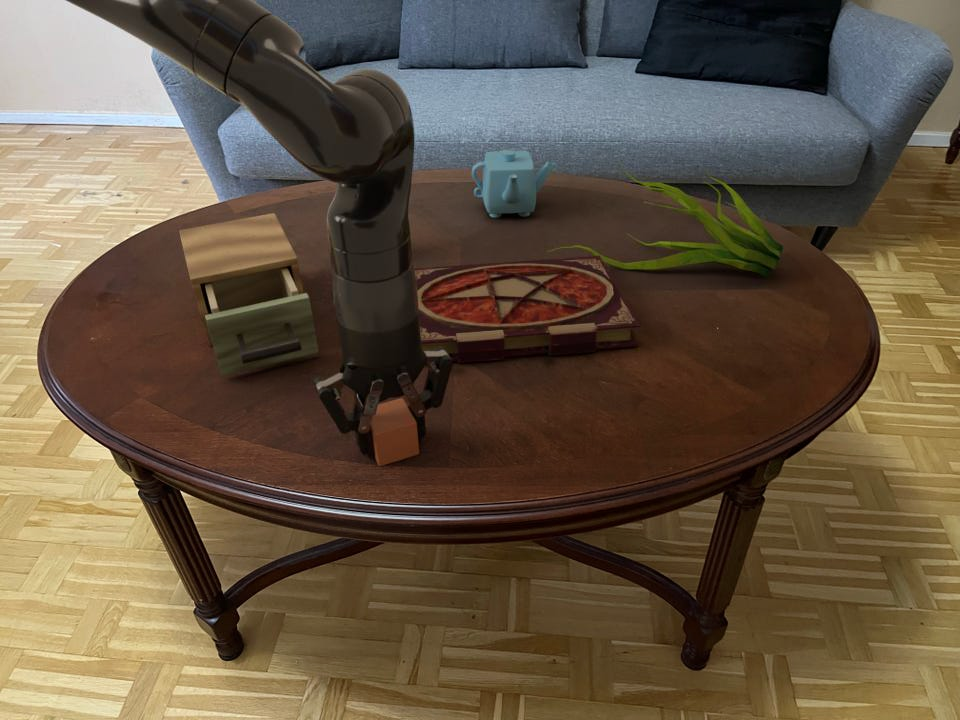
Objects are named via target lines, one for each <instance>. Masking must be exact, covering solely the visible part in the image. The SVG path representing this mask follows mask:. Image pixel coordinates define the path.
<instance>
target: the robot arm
mask: <svg viewBox="0 0 960 720" xmlns="http://www.w3.org/2000/svg"><path fill="white" fill-rule="evenodd" d="M65 1H66V2H68V3H69V4H72V5H74V6H76V7H77V8H80V9H82V10H84V11H86V12H88V13H90V14H91V15H94V16H95V17H98V18H100V19H102V20H104V21H106V22H107V23H109V24H110V25H113V26H115V27H116V28H118V29H120V30H122V31H123V32H125V33H128V34H129V35H131V36H132V37H134V38H136V39H138V40H140V41H141V42H143V43H145V45H147V46H149V47H150V48H152V49H154V50H156V51H157V52H159V53H160V54H162V55H164V57H166V58H168V59H170V60H171V61H172V62H174V63H176V64H178V65H179V66H180V67H182V68H183V69H185V70H186V71H188V72H189V73H191V74H192V75H194V76H196V77H197V78H198V79H200V80H201V81H203V82H204V83H206V84H207V85H209V86H211V87H212V88H214V89H215V90H217V91H219V92H220V93H221V94H223V95H225V97H228V98H229V99H231V100H232V101H234V102H235V103H237V104H239V105H241V106H243V107H244V108H245V109H246V110H247V111H248V112H249V113H250V114H251V116H253V118H254V119H255V120H256V121H257V122H258V123H259V125H260V126H261V127H262V128H263V129H264V130H265V131H266V132H267V133H268V134H269V135H270V136H271V137H273V139H274V140H275V141H276V142H277V143H278V144H279V145H280V146H281V147H282V148H283V149H284V150H285V151H286V152H287V153H288V154H289V155H290V156H291V157H292V158H293V159H294V160H296V161H297V163H299V164H300V165H301V166H303V167H304V168H305V169H307V171H309V172H311V173H313V174H314V175H316V176H318V177H319V178H321V179H325V180H327V181H330V182H332V183H335V184H337V185H336V186H337V187H336V191H335V194H334V196H333V199H332V201H331V202H330V204H329V206H328V208H327V212H326V217H325V218H326V219H325V224H326V225H325V227H326V236H327V244H328V251H329V258H330V263H331V264H330V265H331V270H332V272H331V273H332V282H331V283H332V296H333V297H332V298H333V301H332V304H333V310H334V312H335V317H336V324H337V328H338V329H337V330H338V336H339V343H340V349H341V355H342V362H341V364H340V367H339V371H338V373H336V374H334V375H332V376H331V377H329V378H326V377H324V376H317V377H316V378H314V379H313V385H314V388H315V390H316V392H317V396H318V398H319V399H320V401H321V403H322V405H323V406H324V408H325V409H326V411H327V413H328V414H329V416H330V417H331V419H332V421H333V422H334V424H335V425H336V427H337V428H338V430H339V432H340V433H341V434H342V435H343V434H344V435H346V434H349V433H350V432H354V433H355V442H356V445H357V447H358V450H359V451H360V453H361V454H362V455H363V456H364V455H366V456H367V458H368V459H371V458H375V450H374V443H373V435H372V430H371V428H370V427H371V422H372V418H373V415H375V414H376V411H377V407H378V405H379V404H380V403H382V402H385V401H386V400H388V399H391V398H401V397H405V400H406V401H407V403H408V405H407V407H408V408H409V410H410V412H411V414H412V415H413V417H414V419H415V421H416V422H417V433H418V444H421V443H422V438H425V437H426V434H427V429H426V414H427V411H428V410H430V409H431V408H432V409H437V408H439V407H442V405H443V402H444V399H445V398H444V397H445V394H446V390H447V387H448V383H449V380H450V376H451V372H452V368H453V364H454V361H452V359H451V358H450V356H449V355H448V353H447V352H446V351H445V349H444V348H443V347H441V346H438V347H436V348H435V349H434V350H433V351H423V349H422V348H421V333H420V320H419V305H418V291H417V282H416V276H415V272H414V263H413V262H414V261H413V251H412V239H411V227H410V221H409V205H410V197H411V190H412V181H413V180H412V179H413V171H414V170H413V169H414V168H413V167H414V157H415V123H414V117H413V116H414V115H413V111H412V108H411V105H410V102H409V100H408V97H407V95H406V94H405V92H404V90H403V89H402V87H401V86H400V85H399V83H398V82H397V81H396V80H395V79H393V78H392V77H391V76H390V75H388V74H386V73H385V72H382V71H380V70H376V69H370V68H364V69H358V70H355V71H352V72H350V73H347V74H345V75H344V76H342V77H340V79H338V80H336V81H335V82H334V83H333V82H332V81H330V80H328V79H326V78H325V77H324V76H323V75H322V74H320V73H319V72H318V71H317V70H316V69H314V68H313V67H312V66H311V64H309V63H308V62H307V61H306V59H307V56H306V53H307V51H306V45H305V43H304V40H303V39H302V37H301V36H300V35H299V34H298V32H297V31H296V30H295V29H294V28H293V27H291V26H290V25H288V24H287V23H286V22H285V21H283V20H282V19H280V18H279V17H278V16H276V15H275V14H273V13H272V12H270V11H269V10H268V9H266V8H265V7H263V6H262V5H260V4H259V3H257V2H255V1H254V0H65ZM425 366H426V367H427V374H426V377H425V382H424V386H423V389H422V392H420V393H418V391H417V389H416V387H415V385H414V384H415V382H416V380H418V378H419V376H420V375H421V373H422V371H423V370H424V368H425ZM344 386H347V387H348V389H351V390H352V391H353V392H354V395H353V399H354V404H353V407H352V412H349V411H348V412H346V411H345V409H344V407H343V406H342V404H341V402H340V401H341V397H342V396H343V391H342V390H343V388H344Z"/></svg>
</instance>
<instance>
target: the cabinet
mask: <svg viewBox="0 0 960 720" xmlns="http://www.w3.org/2000/svg"><path fill="white" fill-rule="evenodd" d="M178 233H179V237H180V241H181V245H182V251H183V255H184V258H185V262H186V268H187V271H188V275H189V280H190V283H191V287H192V290H193V294H194V297H195V301H196V305H197V308H198V311H199V315H200V319H201V321H202V325H203V329H204V333H205V337H206V340H207V343H208V346H209V347H213V343H212V340H211V336H210V332H209V329H208V325H207V322H206V318H205V315H208V314H212V311H211V307H210V303H209V299H208V296H207V292H206V288H205V284H204V283H207V282H212V281H217V280H222V279H227V278H232V277H237V276H241V275H246V274H251V273H256V272H261V271H266V270H271V269H276V268H281V267H286V266H287V269H288V271H289V273H290V275H291V277H292V279H293V281H294V283H295V286H296V288H297V290H298V294H299V295H300V294H304V293H305V292H304V288H303V282H302V278H301V277H302V276H301V272H300V266H299V259H298V256H297V255H296V253H295V251H294V249H293V246H292V245H291V243H290V241H289V238H288V237H287V235H286V233H285V231H284V229H283V227H282V225H281V223H280V221H279V219H278V217H277V215H276V214H275V212H273V213H267V214H263V215H256V216H250V217H244V218H240V219H233V220H229V221H224V222H217V223H212V224H206V225H201V226H200V225H199V226H195V227H189V228H183V229H180V230H178Z"/></svg>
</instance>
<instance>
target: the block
mask: <svg viewBox="0 0 960 720" xmlns="http://www.w3.org/2000/svg"><path fill="white" fill-rule="evenodd" d="M370 428H371V430H372V435H373V443H374V450H375V457H374V459H375V462H376V463H377V465H378V467H383V466H386V465H388V464H392V463H395V462H398V461H402V460H405V459H408V458H411V457H415V456H419V455H420V448H419V446H420V445H419V443H418V433H417V422H416V421H415V419H414V417H413V415H412V414H411V412H410V410H409V408H408V405H407V403H406V401H405V399H404V398H403V397H399V398H397V399H393V400H390V401H386V402H383V403H382V402H381V403H378V407H377V411H376V414H375V415H373V418H372V422H371V427H370Z"/></svg>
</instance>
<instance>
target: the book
mask: <svg viewBox="0 0 960 720" xmlns="http://www.w3.org/2000/svg"><path fill="white" fill-rule="evenodd" d="M413 268H414V267H413ZM414 272H415V276H416V282H417V291H418V305H419V320H420V333H421V348H422V349H423V351H433V350H434V349H435V348H436V347H438V346H441V347H443V348H444V349H445V351H446V352H447V353H448V355H449V356H450V358H451V359H452V361H453V362H456V361H457V363H458V364H459V363H460V364H461V363H473V362H485V361H498V360H505V357H517V356H528V355H529V356H530V355H541V354H548V356H561V355H573V354H586V353H595V352H596V350H603V349H605V350H606V349H616V348H618V349H619V348H630V347H639V342H638V341H637V338H636V337H635V335H634V334H633V333H634V332H633V331H632V329H633V328H641V324H640V322H639V320H638V319H637V317H636V315H635V314H634V312H633V310H632V308H631V307H630V305H629V303H628V301H627V300H626V298H625V297H624V295H623V292H622V291H621V289H620V288H619V286H618V285H617V283H616V280H615V279H614V278H613V276H612V274H611V272H610V270H609V269H608V267H607V265H606V263H605V262H603V260H602V259H601V257H600V256H595V255H589V256H575V257H560V258H545V259H531V260H516V261H501V262H487V263H473V264H472V263H471V264H459V265H458V264H457V265H444V266H442V265H441V266H430V267H429V266H428V267H415V268H414Z"/></svg>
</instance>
